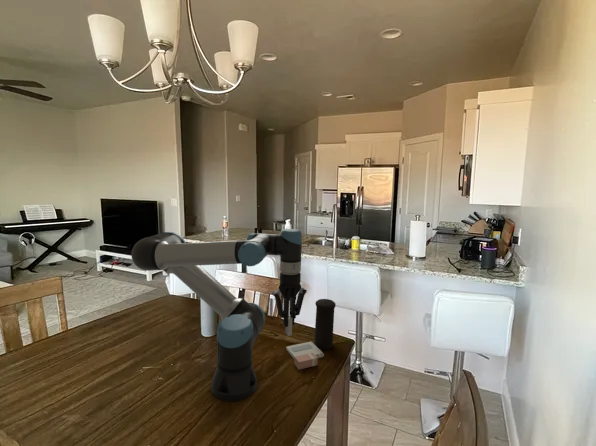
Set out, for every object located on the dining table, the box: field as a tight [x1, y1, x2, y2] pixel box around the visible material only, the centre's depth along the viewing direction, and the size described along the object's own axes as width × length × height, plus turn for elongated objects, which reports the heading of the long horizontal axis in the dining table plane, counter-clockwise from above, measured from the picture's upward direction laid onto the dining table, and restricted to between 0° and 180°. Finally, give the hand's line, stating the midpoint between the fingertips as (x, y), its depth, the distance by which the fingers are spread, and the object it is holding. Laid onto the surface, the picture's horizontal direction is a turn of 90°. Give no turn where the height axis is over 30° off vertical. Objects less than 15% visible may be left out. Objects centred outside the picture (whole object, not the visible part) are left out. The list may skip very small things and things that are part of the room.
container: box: [313, 298, 336, 351], centre depth 138 cm, size 9×9×20 cm
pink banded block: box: [293, 353, 319, 370], centre depth 124 cm, size 8×4×3 cm, turn 115°
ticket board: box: [285, 341, 325, 359], centre depth 132 cm, size 12×11×1 cm
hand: (288, 333), depth 118 cm, fingers closed
